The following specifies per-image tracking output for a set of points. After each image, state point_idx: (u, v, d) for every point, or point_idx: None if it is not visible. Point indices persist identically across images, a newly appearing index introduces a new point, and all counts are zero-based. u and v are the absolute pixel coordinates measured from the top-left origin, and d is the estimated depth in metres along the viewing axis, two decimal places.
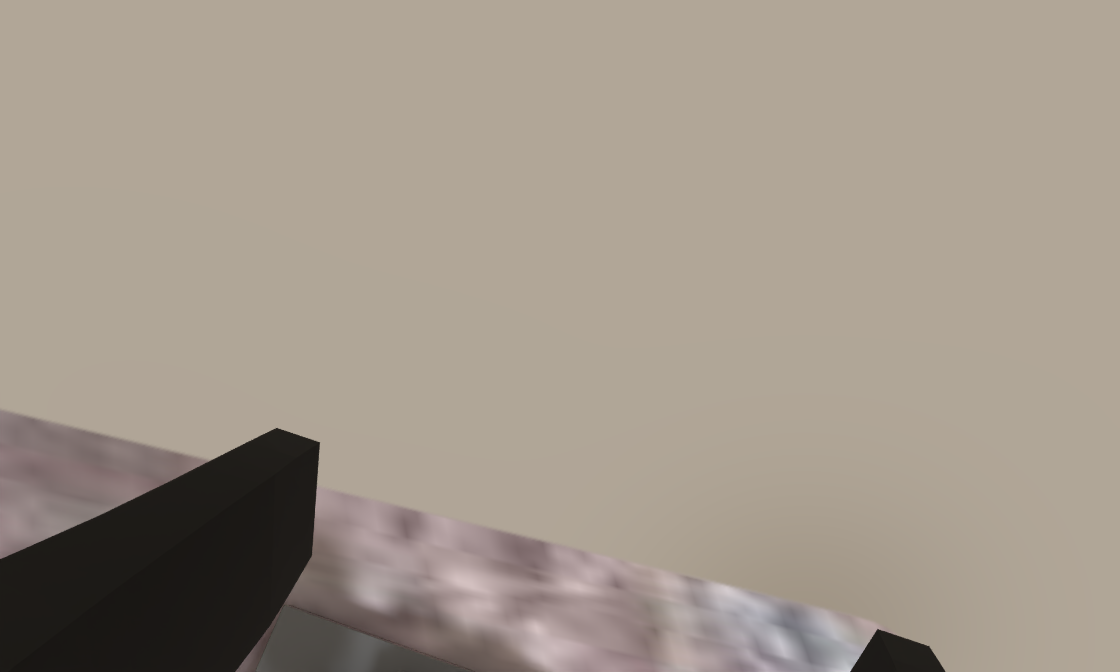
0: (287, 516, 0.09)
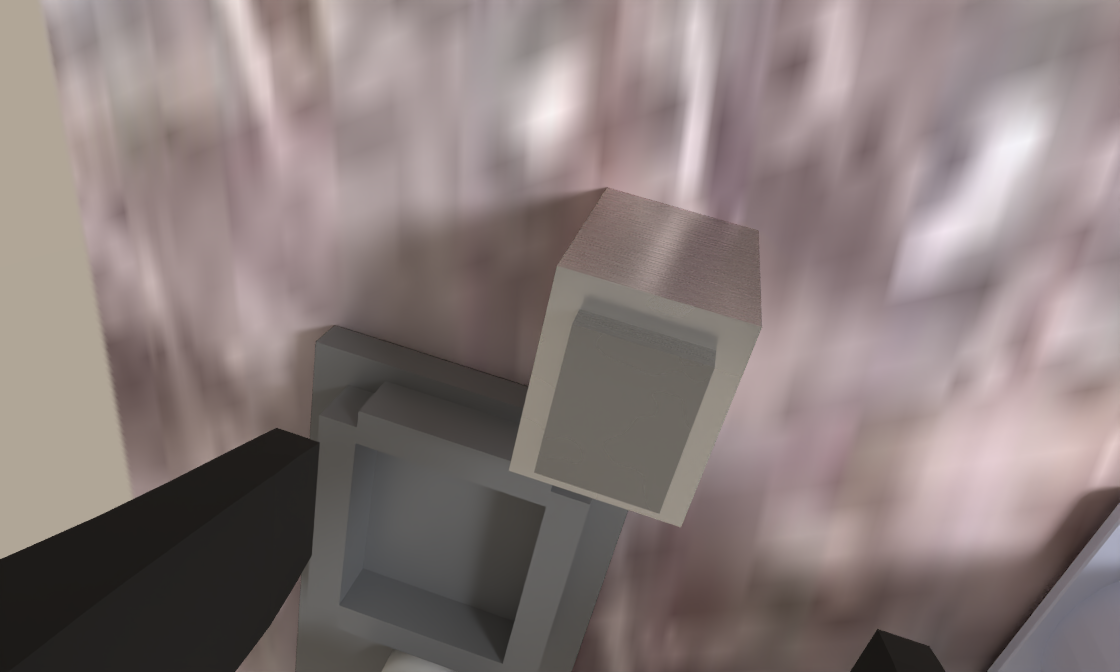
0: (287, 516, 0.09)
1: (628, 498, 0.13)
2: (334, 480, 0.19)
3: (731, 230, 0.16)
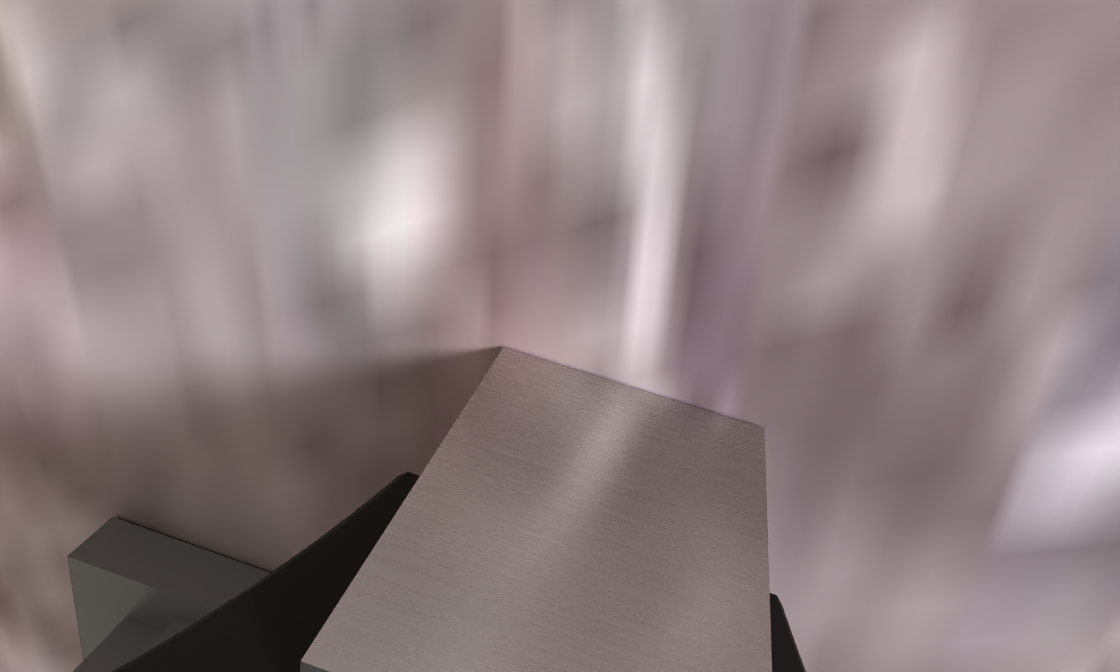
0: None
1: None
2: None
3: (715, 438, 0.09)
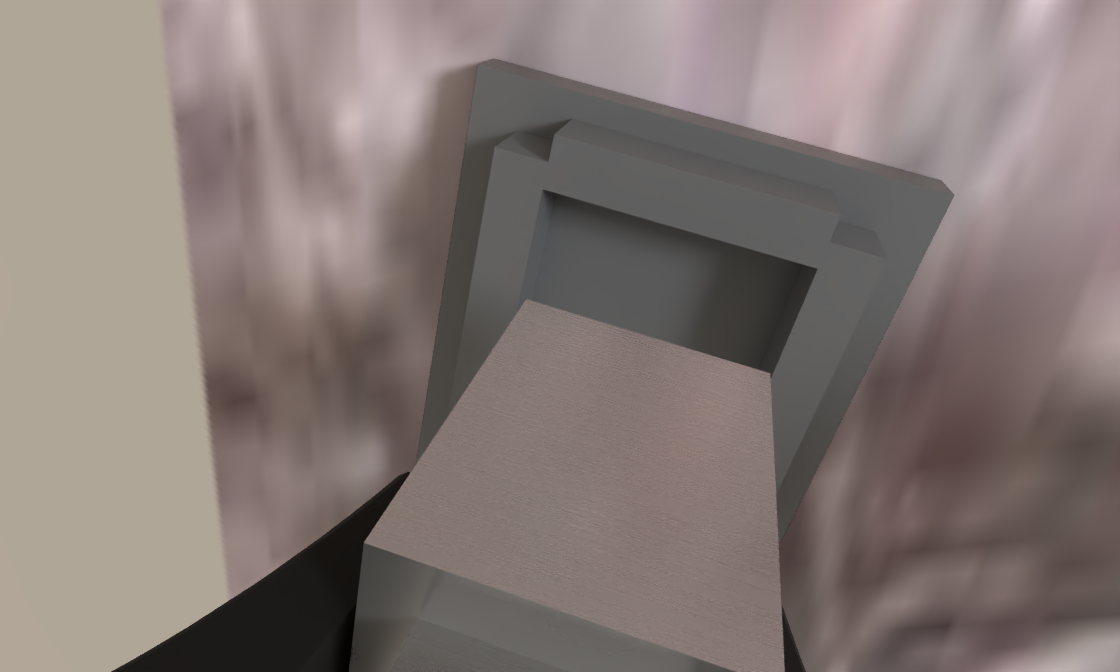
0: None
1: None
2: (504, 253, 0.14)
3: (725, 380, 0.10)
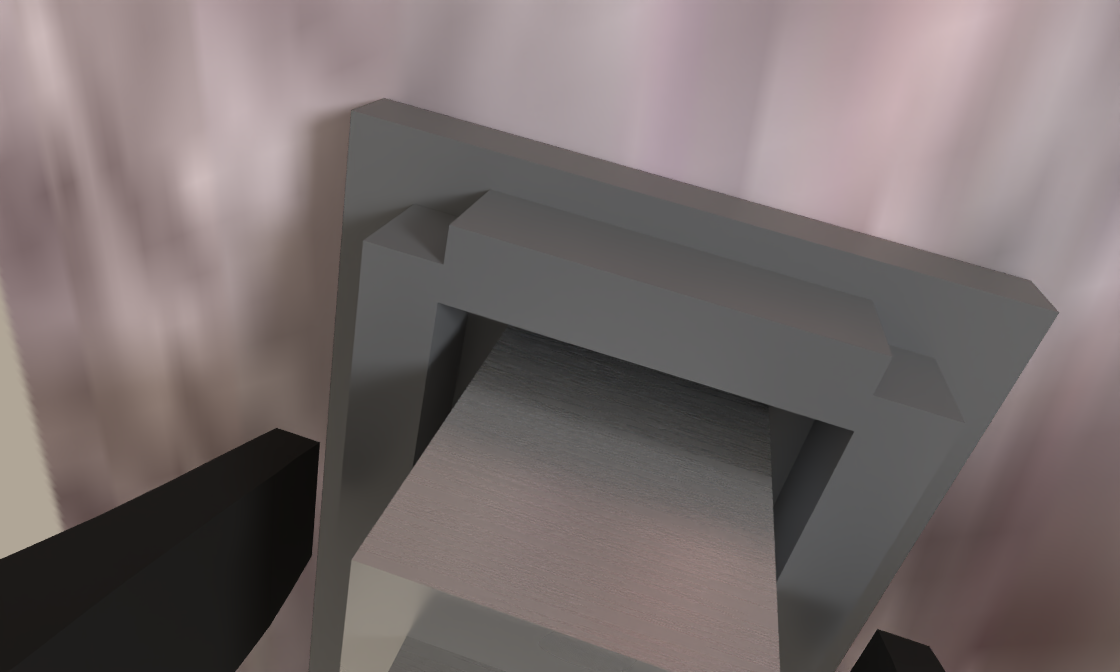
0: (287, 516, 0.09)
1: None
2: (389, 388, 0.09)
3: None
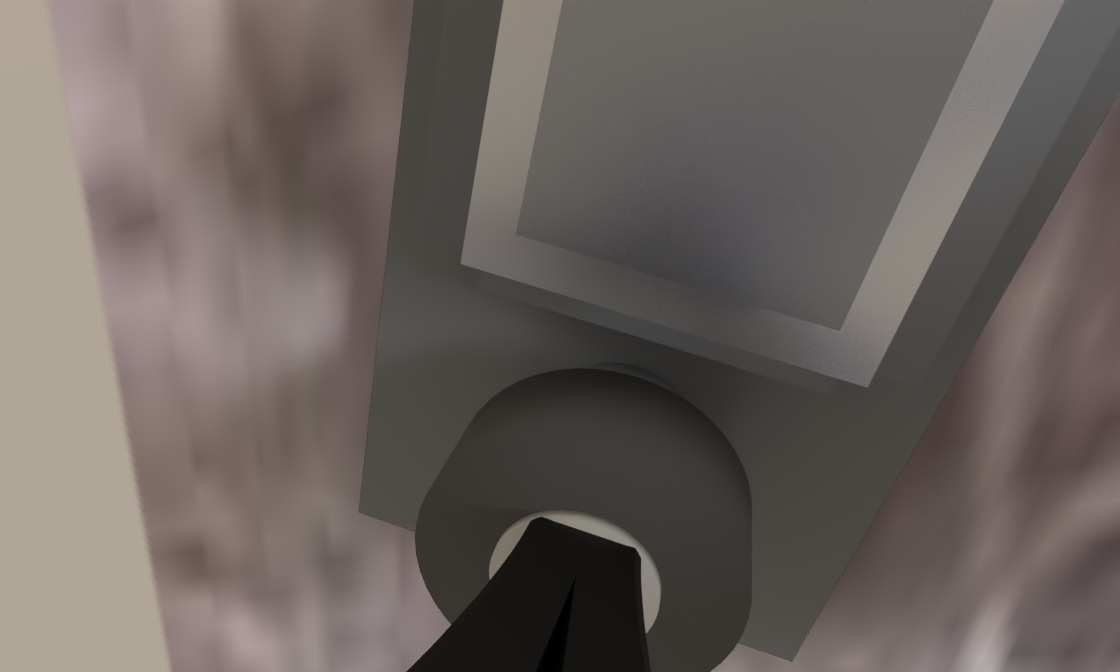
0: None
1: (760, 290, 0.05)
2: None
3: None
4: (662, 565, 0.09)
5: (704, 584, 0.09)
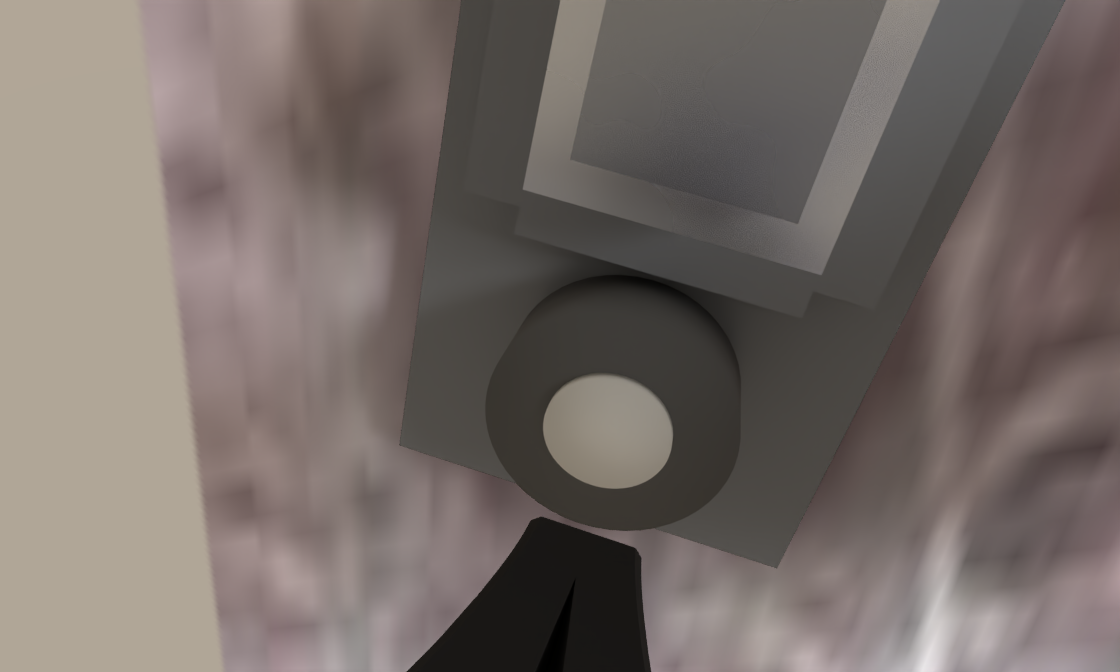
0: None
1: (742, 195, 0.07)
2: None
3: None
4: (674, 414, 0.12)
5: (705, 428, 0.12)
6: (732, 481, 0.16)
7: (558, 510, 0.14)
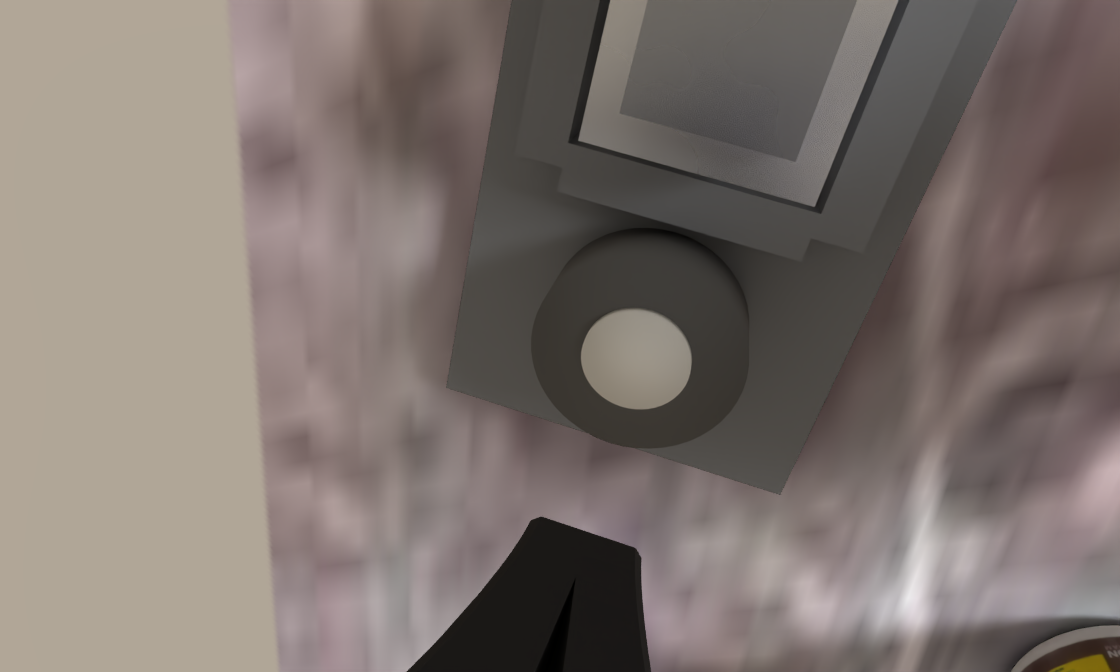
0: None
1: (752, 139, 0.10)
2: None
3: None
4: (692, 343, 0.14)
5: (719, 354, 0.14)
6: (741, 415, 0.18)
7: (592, 432, 0.16)
